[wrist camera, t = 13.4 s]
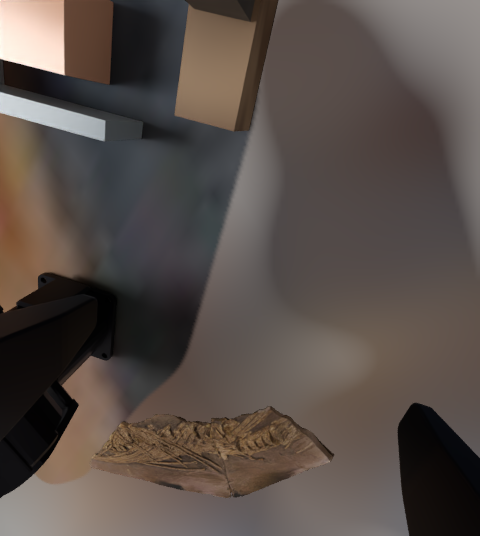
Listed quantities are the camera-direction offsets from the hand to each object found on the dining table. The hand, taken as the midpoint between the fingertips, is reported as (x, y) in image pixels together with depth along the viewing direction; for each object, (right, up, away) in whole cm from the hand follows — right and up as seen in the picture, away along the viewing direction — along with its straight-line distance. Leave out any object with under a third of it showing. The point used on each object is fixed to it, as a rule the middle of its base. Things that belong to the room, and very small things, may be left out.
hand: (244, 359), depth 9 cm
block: (-9, +16, +10) cm, 21 cm away
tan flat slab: (-5, -15, +23) cm, 28 cm away
